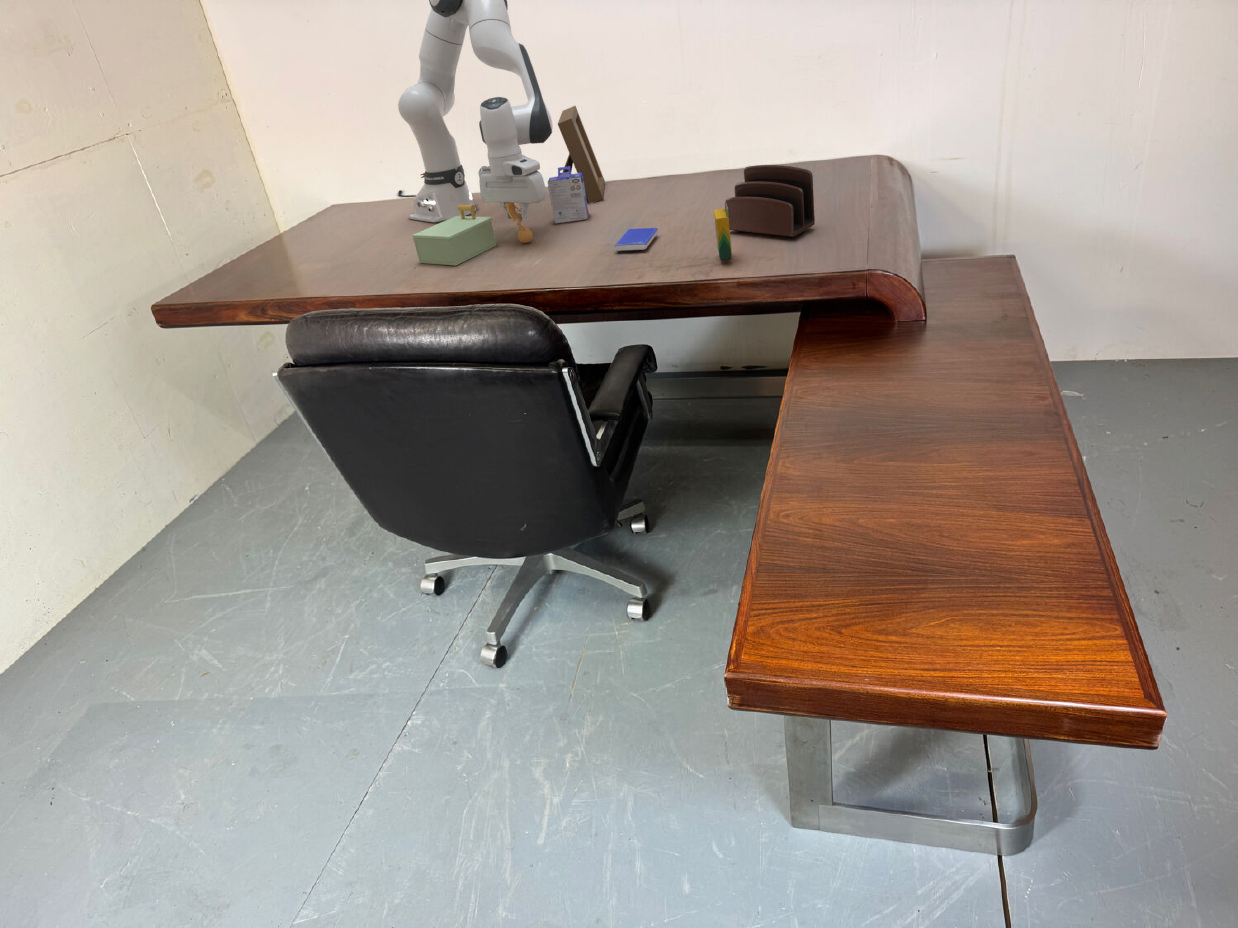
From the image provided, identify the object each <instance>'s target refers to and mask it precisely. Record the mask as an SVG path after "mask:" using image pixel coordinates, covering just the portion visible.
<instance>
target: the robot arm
mask: <svg viewBox="0 0 1238 928" xmlns="http://www.w3.org/2000/svg"><path fill="white" fill-rule="evenodd" d="M428 2H429V5H430V8H431V9H430V11H429V14H428V17H427V20H426V24H425V27H424V32H423V36H422V40H421V43H420V48H419V53H418V59H419V66H420V67H419V79H418V80H417V83H416V84H413V85H410V86H409V87H407V88H406V89H405V90H404V91H403V93H401V95H400V97H399V98H398V103H397V107H398V112H399V115H400V117H401V119H403V121H405V122H406V123H407V124H408V126H409V128H410V130H411V132H412V133H413V136H414V138H415V140H416V142H417V145H418V148H419V152H420V155H421V160H422V162H423V167H424V170H425V171H424V173H421V174H420V176H421V177H420V179H423V185H422V187H421V188H420V189H419V191H418V192H417V193H416V194H410V195H409V194H407V195H406V194H405V195H403V194H402V193H403V190H401V189H400V190H398V193H397V195H398V197H399V198H413V205H414V210H415V211H414V212H412V213H411V214H409V219H410V220H415V221H421V222H429V223H440V222H443V221H446V220H448V219H450V218H453V217H455V216H461V213H460V211H459V210H458V205H474V206H475V210H474V212H476V211H477V207H476V203H475V202H474V201H473V196H472V193H471V192H470V189H469V187H468V184H467V183H468V182H467V181H466V179H465V177H466V175H465V169H464V167H463V165H462V164H461V159H460V156H459V150H458V146H457V143H456V138H455V137H454V136H453V135H452V134H451V133H450V131H449V128H448V126H447V124H446V122H445V120H444V117H445V116H446V115H448V114H449V113H450V111H451V110H452V108H453V106H454V104H455V100H456V96H455V95H456V94H455V85H456V84H455V83H456V75H457V69H458V64H459V60H460V57H461V53H462V49H463V46H464V41H465V38H466V33H467V28H468V33H469V39H470V44H471V48H472V52H473V53H474V55H475V57H476V58H477V59H478V61H480V62H481V63H483V64H484V65H486V66H488V67H491V68H494V69H498V70H503V71H508V72H511V73H513V74H515V75H517V76H518V77H519V78H520V79H521V83H522V86H523V88H524V92H525V95H526V98H527V102H526V103H524V104H517V105H511V102H510V101H509V100H510V99H508V98H506V97H503V96H496V97H490V98H487V99H485V100H484V101H482V102H481V103H480V104H479V115H480V121H479V122H478V126H479V131H480V135H481V139H482V142H483V143H484V144H485V145H486V148H487V159H488V164H489V165H482V166H480V168H479V169H478V179H479V180H478V181H479V192H480V197H481V200H482V201H483V203H497V204H498V203H499V204H500V207H501V209H502V210H503V212H504V213H505V215H506V219H507V220H512V218H511V217H510V215H509V213H508V211H507V210H508V209H507V208H506V206H505V203H514V204H519V207H520V208H521V209H520V211H521V212H518V214H519V216H520V219H522V220H527V219H529V216H528V215H529V214H528V210H529V207H530V204H540V203H542V202H544V201H546V198H547V189H546V183H545V180H544V176H543V175H542V173H541V172H540V171H539V170H540V169H541V164H540V162H539V161H538V160H536V159H533V158H531V157H529V156H526V155H524V154H523V152H522V148H521V146H522V145H528V144H529V145H530V144H532V145H534V144H544V143H545V142H546V141H547V140H548V139H549V138H550V137H551V135H552V133H553V119H552V116H551V112H550V111H549V109H548V107H547V105H546V103H545V101H544V99H543V95H542V91H541V88H540V85H539V82H538V81H539V80H538V79H537V75H536V72H535V69H534V66H533V64H532V61H531V58H530V56H529V53H528V51H527V49H526V47H525V46H524V44H522V43H520V42H517V40H516V39H515V37H514V35H513V33H512V26H511V21H510V15H509V12H508V9H509V8H508V0H428ZM468 215H471V211H464V216H468ZM511 215H512V214H511ZM512 217H513V215H512Z"/></svg>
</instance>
